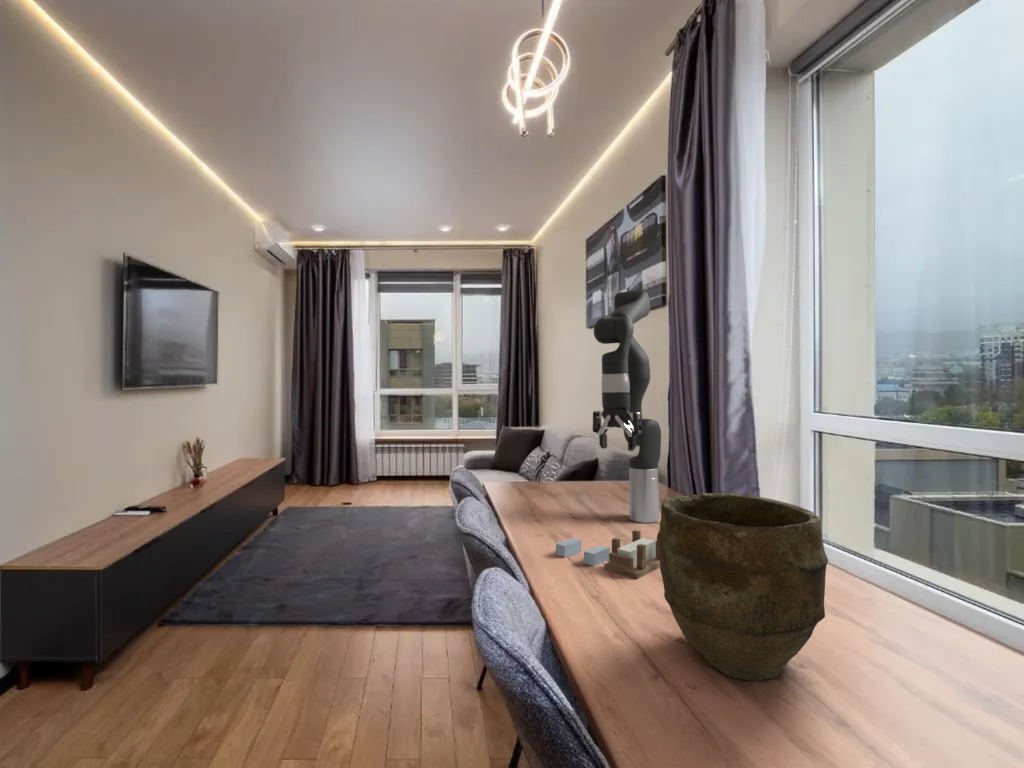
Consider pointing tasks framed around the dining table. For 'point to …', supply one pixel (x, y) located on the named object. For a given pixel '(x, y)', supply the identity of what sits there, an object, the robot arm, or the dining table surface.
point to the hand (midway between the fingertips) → (617, 449)
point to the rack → (625, 563)
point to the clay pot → (742, 578)
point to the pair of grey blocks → (590, 556)
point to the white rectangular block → (631, 549)
